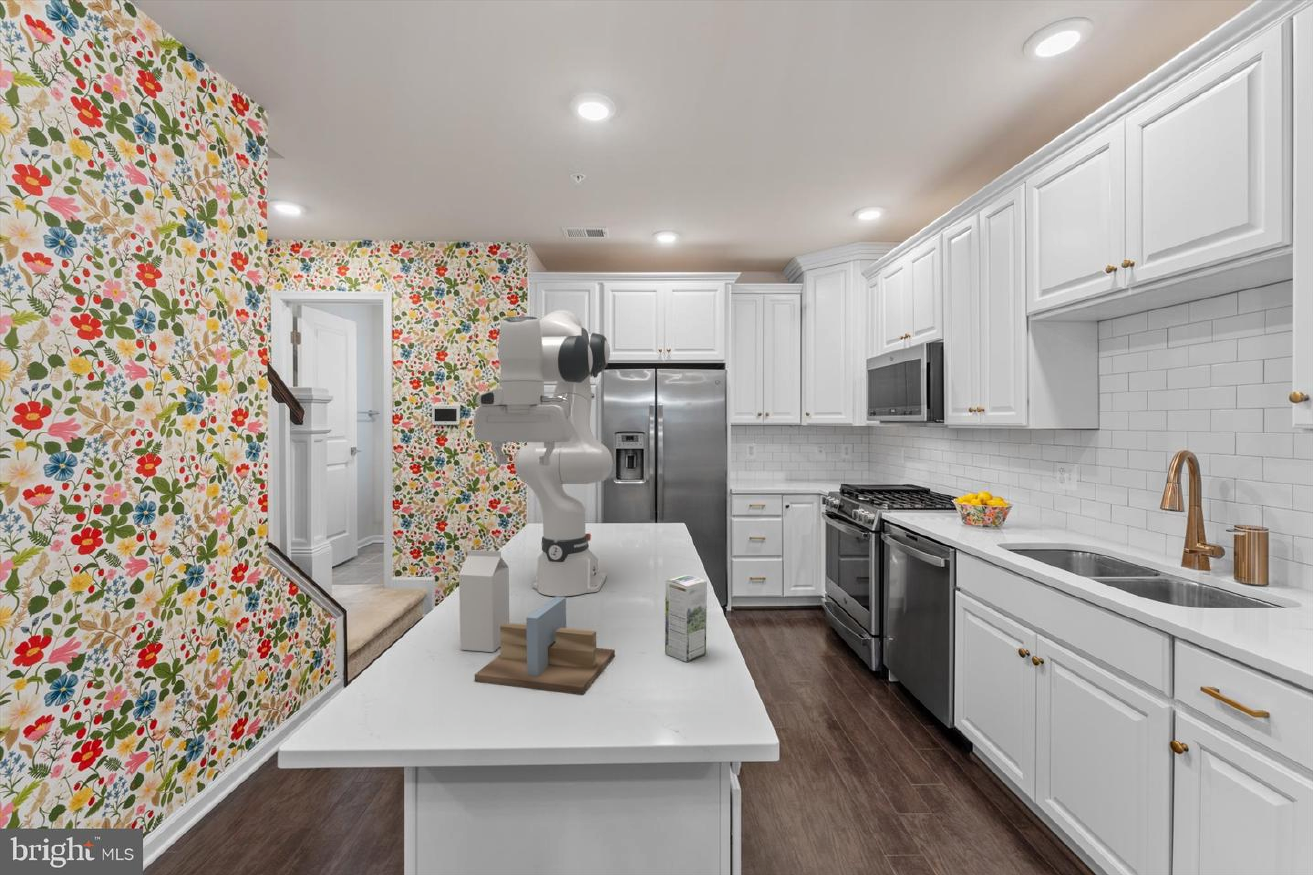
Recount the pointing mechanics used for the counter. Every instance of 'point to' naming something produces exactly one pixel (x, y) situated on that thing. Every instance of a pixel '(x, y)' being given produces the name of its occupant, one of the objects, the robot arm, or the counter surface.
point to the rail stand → (567, 661)
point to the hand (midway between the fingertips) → (523, 464)
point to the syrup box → (685, 617)
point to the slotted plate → (543, 633)
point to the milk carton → (483, 600)
